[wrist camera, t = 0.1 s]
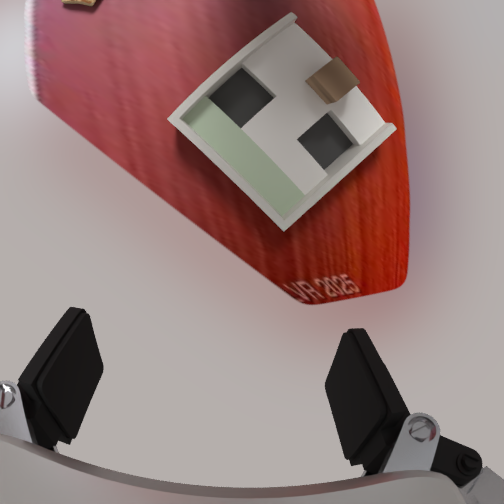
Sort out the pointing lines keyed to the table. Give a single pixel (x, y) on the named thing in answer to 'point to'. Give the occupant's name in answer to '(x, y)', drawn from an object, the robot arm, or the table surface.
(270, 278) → the table surface
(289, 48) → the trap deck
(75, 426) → the robot arm
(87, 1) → the shard
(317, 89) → the walnut block
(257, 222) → the table surface
